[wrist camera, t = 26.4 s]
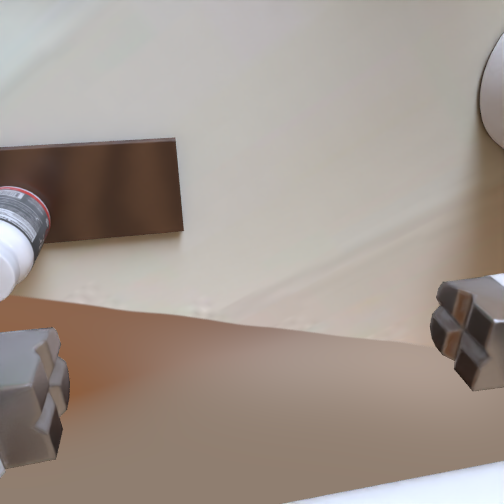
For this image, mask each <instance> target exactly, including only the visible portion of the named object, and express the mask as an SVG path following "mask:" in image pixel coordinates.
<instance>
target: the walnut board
mask: <svg viewBox="0 0 504 504" xmlns="http://www.w3.org/2000/svg"><path fill="white" fill-rule="evenodd" d="M4 186H12V187H18V188H22V189H25V190H27V191H29V192H31V193H33V194H34V195H36V196H37V197H38V198H39V199H40V200H41V201H42V202H43V203H44V204H45V206H46V208H47V209H48V212H49V215H50V229H49V232H48V235H47V237H46V239H45V241H44V243H54V242H66V241H77V240H88V239H99V238H111V237H122V236H133V235H144V234H156V233H167V232H178V231H184V228H183V217H182V206H181V195H180V184H179V173H178V163H177V152H176V141H175V138H161V139H143V140H125V141H107V142H89V143H71V144H53V145H35V146H17V147H0V187H4Z"/></svg>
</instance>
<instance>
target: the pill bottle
mask: <svg viewBox="0 0 504 504" xmlns="http://www.w3.org/2000/svg"><path fill="white" fill-rule="evenodd" d="M49 229H50V215H49V212H48V209H47V208H46V206H45V204H44V203H43V202H42V201H41V200H40V199H39V198H38V197H37V196H36V195H34V194H33V193H31V192H29V191H27V190H25V189H22V188H18V187H12V186H4V187H0V302H1V301H2V300H4V299H5V298H7V297H8V296H9V295H10V294H11V292H12V291H13V289H14V287H15V286H16V285H17V284H18V283H20V282H21V281H22V280H24V279H25V278H26V276H27V275H28V274H29V272H30V271H31V269H32V267H33V265H34V263H35V261H36V258H37V256H38V254H39V252H40V250H41V248H42V246H43V244H44V241H45V239H46V237H47V235H48V232H49Z"/></svg>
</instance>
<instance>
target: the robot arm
mask: <svg viewBox="0 0 504 504" xmlns="http://www.w3.org/2000/svg"><path fill="white" fill-rule="evenodd" d="M480 111H481V116H482V120H483V123H484V126H485V128H486V130H487V132H488V134H489V135H490V136H491V138H492V139H493V140H494V141H495V142H496V143H497V144H498V145H500V146H501V147H502V148H503V149H504V33H503V35H502V36H501V37H500V39H499V41H498V42H497V44H496V46H495V48H494V49H493V51H492V53H491V56H490V58H489V60H488V63H487V65H486V68H485V71H484V75H483V79H482V84H481V90H480ZM436 298H437V300H438V302H439V303H440V306H439V307H438V308H437V309H436V310H435V312H434V313H433V314H432V318H431V323H430V330H431V336H432V339H433V342H434V344H435V346H436V347H437V349H438V350H439V351H440V352H441V354H442V355H444V356H446V357H448V358H450V359H452V360H454V361H455V363H454V370H455V371H456V372H457V373H458V374H459V375H460V377H461V378H462V379H463V380H464V381H465V383H466V384H467V385H468V386H469V387H470V389H471V390H472V391H479V390H487V389H494V388H502V387H504V273H502V274H495V275H488V276H484V277H478V278H470V279H463V280H455V281H447V282H443V283H442V284H441V285H440V287H439V288H438V292H437V296H436ZM60 346H61V343H60V340H59V337H58V333H57V331H56V330H55V329H54V328H53V327H51V328H41V329H31V330H21V331H10V332H0V478H1V477H2V476H3V474H4V473H5V469H8V468H14V467H19V466H24V465H29V464H35V463H40V462H45V461H50V460H56V457H57V453H58V448H59V444H60V439H61V435H62V430H63V428H62V424H61V421H60V418H59V417H60V416H61V415H62V414H63V413H64V412H65V411H66V410H67V407H68V402H69V392H70V389H69V388H70V381H69V373H68V369H67V365H66V362H65V361H64V360H63V359H61V358H60V357H58V353H59V349H60ZM283 504H504V461H499V462H494V463H490V464H485V465H479V466H474V467H469V468H464V469H458V470H453V471H448V472H443V473H438V474H433V475H428V476H422V477H417V478H412V479H407V480H402V481H397V482H391V483H386V484H381V485H376V486H371V487H366V488H361V489H355V490H350V491H345V492H340V493H335V494H330V495H325V496H319V497H314V498H309V499H305V500H299V501H294V502H289V503H283Z"/></svg>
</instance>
